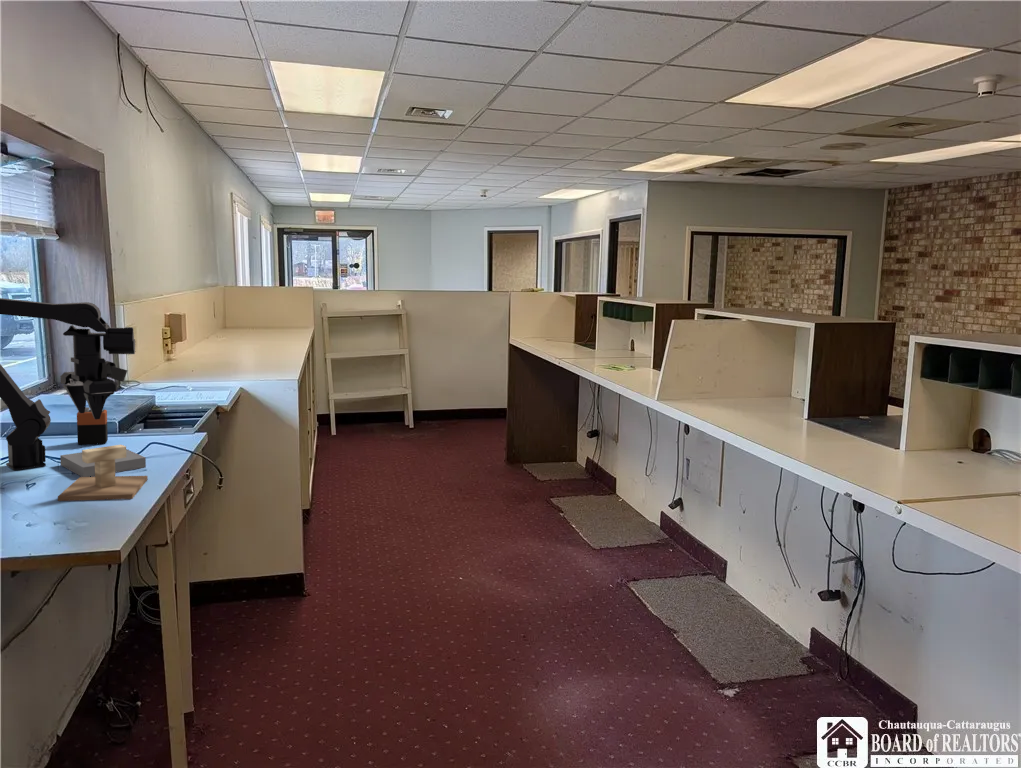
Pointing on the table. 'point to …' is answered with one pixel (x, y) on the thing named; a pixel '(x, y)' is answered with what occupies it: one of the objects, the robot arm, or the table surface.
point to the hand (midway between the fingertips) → (89, 416)
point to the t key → (104, 463)
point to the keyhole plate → (88, 469)
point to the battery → (91, 428)
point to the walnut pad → (103, 489)
